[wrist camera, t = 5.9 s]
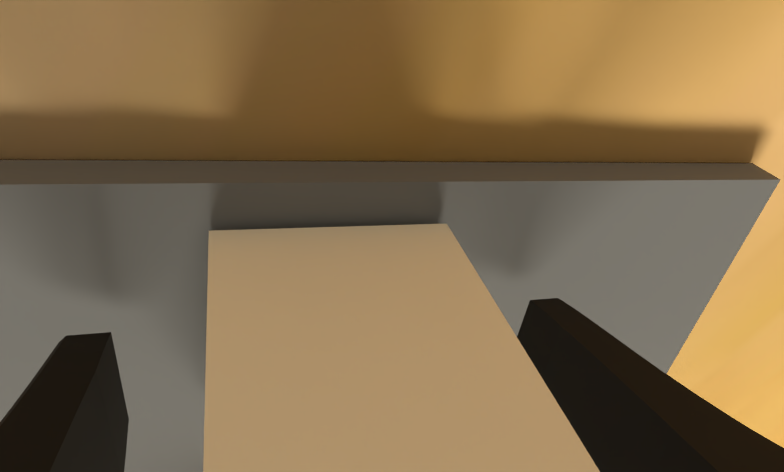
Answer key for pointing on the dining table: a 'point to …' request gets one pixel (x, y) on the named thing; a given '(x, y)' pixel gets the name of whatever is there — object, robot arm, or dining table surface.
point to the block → (368, 359)
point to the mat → (340, 209)
